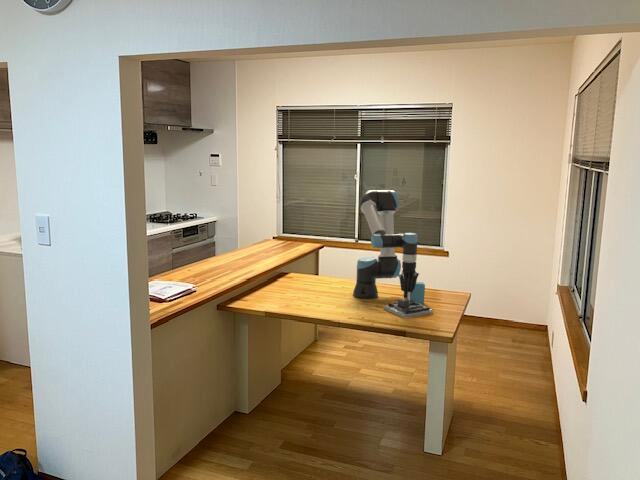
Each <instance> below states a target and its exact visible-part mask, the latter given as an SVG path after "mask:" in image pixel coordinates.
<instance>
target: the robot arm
mask: <svg viewBox="0 0 640 480" xmlns="http://www.w3.org/2000/svg"><path fill="white" fill-rule="evenodd" d="M399 206H400V199H399V196H398V193H397V192H396V191H395V190H391V189H381V190H380V189H376V190H375V189H371V190H367V191H366V192H365V193H363V194H362V196H361V197H360V199H359V208H360V211H361V212H362V213H363V215H364V217H365V219H366V222H367V224H368V226H369V230H370V232H371V237H370V245H371V247H372V248H374V249H379V250H380V254H379V255H378V256H377V257H375V256H364V257H361V258H359V259H358V260H357V263H356V283H355V286H354V289H353V292H352V296H353V297H355V298H359V299H366V300H368V299H369V300H370V299H376V298H378V296H379V291H378V288H377V284H376V282H377V281H376V280H378V279H396V278H397V277H398V278H399V283H400V290H401V291H402V292H403V297H405V299H408V300H409V304H410V297H411V292H413V291H412V290H414V289H415V285H416V282H418V281H417V280H418V277H419V275H420V273H419V272H417V271H416V269H417V256H418V253H417V252H418V234H417V233H415V232H405V233H404V232H400V233H399V232H398V233H395V228H394V227H395V226H394V225H395V223H394V222H395V221H394V214H395V213H397V212H396V211H397V209H398V208H399ZM395 248H401V249H402V262H401V260H400V258H398V255H397V254H396V253H395V252H396V251H395ZM401 270H402V271H401ZM412 287H413V288H412Z"/></svg>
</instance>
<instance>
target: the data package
mask: <svg viewBox="0 0 640 480" xmlns="http://www.w3.org/2000/svg"><path fill="white" fill-rule="evenodd" d="M412 288H413V287H412ZM412 291H413V292H411V297H410V300H412V301H415V302H417V303H419V304H422V305H424V303H425V293H426V284H425V282H423V281H422V282H419V281H416V285H415V289H414V290H412ZM402 298H405V297H404V296H403V297H402Z"/></svg>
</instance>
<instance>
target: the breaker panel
mask: <svg viewBox="0 0 640 480" xmlns="http://www.w3.org/2000/svg"><path fill="white" fill-rule="evenodd" d="M383 310H385V311H386V312H389V313H392V314H394V315H396V316H398V317H400V318H402V319H408V318H413V317H419V316H420V317H421V316H425V315H426V316H427V315H430V314H433V313H434V309H432V308H431V307H430V306H425V305H424V304H419V303H417V302H415V301H412V300H410V304H409V307H405V308H401V307H399V306H398V301H396V302H390V303H388V304H387V305H384V306H383Z"/></svg>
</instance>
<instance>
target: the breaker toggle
mask: <svg viewBox="0 0 640 480" xmlns="http://www.w3.org/2000/svg"><path fill="white" fill-rule="evenodd" d="M397 302H398V306H399V307H401V308H405V307H409V300H408V299H405V298H403V297H400V298H397Z"/></svg>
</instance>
